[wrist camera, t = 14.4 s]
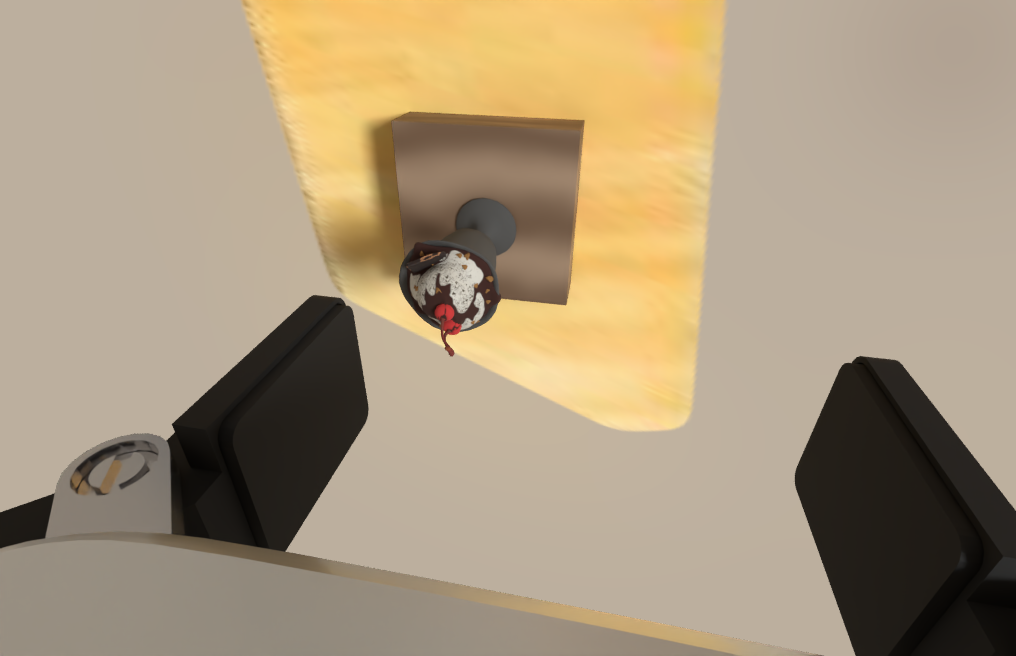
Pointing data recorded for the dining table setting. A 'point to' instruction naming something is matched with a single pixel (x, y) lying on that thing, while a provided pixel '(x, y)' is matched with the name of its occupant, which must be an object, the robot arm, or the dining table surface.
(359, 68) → the dining table surface
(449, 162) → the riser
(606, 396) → the dining table surface
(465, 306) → the sundae
